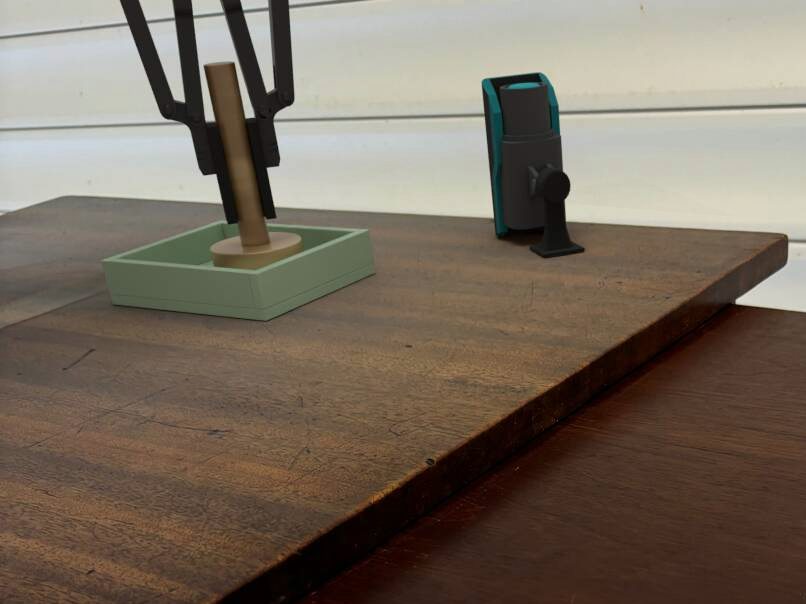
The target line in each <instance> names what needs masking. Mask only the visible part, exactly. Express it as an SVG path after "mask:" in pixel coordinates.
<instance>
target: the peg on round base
mask: <svg viewBox="0 0 806 604" xmlns="http://www.w3.org/2000/svg"><path fill="white" fill-rule="evenodd" d="M202 66H203V71H204V75H205V80H206V84H207V89H208V95H209V99H210V103H211V108H212V113H213V117H214V122H215V123H216V125H217V127H218V132H219V137H220V142H221V146H222V151H223V156H224V160H225V165H226V170H227V174H228V179H229V184H230V188H231V193H232V198H233V202H234V207H235V212H236V216H237V221H238V223H237V226H238V231H239V235H240V236H237V237H232V238H229V239H225V240H222V241H220V242H217V243H215V244H214V245H212V246H211V248H210V252H211V256H212V261H213V265H214V267H221V268H233V269H245V270H258V269H260V268H263V267H266V266H268V265H271V264H273V263H276V262H278V261H281V260H284V259H286V258H289V257H291V256H294V255H296V254H299V253H301V252H304V249H303V244H302V238H301V237H300V236H299V235H297V234H293V233H287V232H268V227H267V219H266V217H265V213H264V208H263V203H262V198H261V193H260V188H259V183H258V178H257V173H256V168H255V163H254V158H253V153H252V148H251V143H250V138H249V133H248V128H247V123H246V118H247V117H246V112H245V107H244V102H243V98H242V97H243V96H242V92H241V87H240V82H239V77H238V73H237V67H236V62H235V61H232V60H231V61H217V62H215V61H214V62H209V63H205V64H203V65H202Z"/></svg>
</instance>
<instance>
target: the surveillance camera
mask: <svg viewBox="0 0 806 604" xmlns="http://www.w3.org/2000/svg"><path fill="white" fill-rule="evenodd" d="M481 92H482V103H483V104H482V105H483V114H484V115H483V116H484V124H485V136H486V146H487V158H488V169H489V180H490V189H491V190H490V191H491V203H492V212H493V222H494V232H495V233H494V235H495V236H497V237H508V236H509V237H510V236H514V235H515V234H516V235H520V233H522V234H528V233H536V232H540V231H541V232H542V231H543V235H542V241H541V243H539V244H534V245H529V246H528V249H529V250H530V251H531V252H533V253H535V254H537V255H539V256H540V257H541V258H544V259H546V258H551V257H558V256H563V255H571V254H577V253H584V252H585V250H586V249H585V247H583V246H581V245H579V244H578V243H576V242H574V241H572V240H571V237H570V234H569V231H568V227H567V213H566V212H567V211H566V200H567V198H568V196H570V192H571V188H572V187H571V180H570V178H569V175H568V174H567V173H565V171H564V162H563V161H564V160H563V143H562V142H563V141H562V135H561V123H560V106H559V102H558V98H557V95H556V92H555V89H554V86H553V84H552V83H551V82H550V79H549V78H548V77H547V76H546V75H545V74H544V73H543V72H540V71H537V72H527V73H520V74H511V75H502V76H492V77H486V78H483V79H482V80H481Z"/></svg>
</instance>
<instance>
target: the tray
mask: <svg viewBox="0 0 806 604" xmlns="http://www.w3.org/2000/svg"><path fill="white" fill-rule="evenodd" d="M267 227H268V232H287V233H293V234H297V235H299V236H300V237H301V238H302V244H303V249H304V252H301V253H299V254H296V255H294V256H291V257H289V258H286V259H284V260H281V261H278V262H276V263H273V264H271V265H268V266H266V267H263V268H260V269H258V270H245V269H233V268H221V267H214V265H213V261H212V256H211V252H210V248H211V246H212V245H214V244H215V243H217V242H220V241H222V240H225V239H229V238H232V237H237V236H240V235H239V231H238V226H237V224H230V225H228V224H227V221H226V220H223V219H221V220H217V221H215V222H211V223H208V224H205V225H203V226H200V227H197V228H193V229H191V230H187V231H185V232H181V233H179V234H176V235H173V236H170V237H167V238H164V239H161V240H158V241H154V242H152V243H149V244H146V245H143V246H140V247H136V248H134V249H130V250H128V251H125V252H122V253H119V254H116V255H113V256H109V257H107V258H104V259H101V260H100V263H101V266H102V269H103V274H104V277H105V281H106V285H107V288H108V292H109V294H110V299H111V302H112V303H111V304H112V305H115V306H123V307H124V306H125V307H133V308H143V309H152V310H161V311H171V312H179V313H187V314H188V313H189V314H199V315H209V316H217V317H226V318H235V319H245V320H252V321H253V320H254V321H263V322H268V321H269V320H272V319H274V318H276V317H279V316H281V315H283V314H285V313H288V312H290V311H292V310H294V309H296V308H299V307H301V306H303V305H305V304H308V303H311V302H312V301H315V300H317V299H320V298H322V297H324V296H327V295H329V294H331V293H334V292H335V291H338V290H341V289H342V288H345V287H347V286H350V285H351V284H354V283H356V282H359V281H360V280H362V279H365V278H367V277H370V276H372V275H374V274H376V266H375V260H374V252H373V247H372V239H371V232H370V229H365V228H361V229H360V228H349V227H348V228H347V227H331V226H316V225H301V224H287V223H285V224H283V223H269V222H268V223H267Z"/></svg>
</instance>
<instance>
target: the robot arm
mask: <svg viewBox="0 0 806 604" xmlns="http://www.w3.org/2000/svg"><path fill="white" fill-rule="evenodd" d="M119 2H120V6H121V8H122V11H123V14H124V17H125V19H126V22H127V25H128V27H129V30H130V34H131V36H132V39H133V42H134V45H135V47H136V50H137V52H138V56H139V58H140V61H141V63H142V66H143V69H144V73H145V75H146V77H147V81H148V83H149V86H150V89H151V91H152V94H153V97H154V99H155V103H156V105H157V108H158V111H159V113H160V115H161V117H162V118H164V119H165V120H168V121H174V122H177V123H181V124H184V125H185V126H186V127H187V128H188V129H189V132H190V135H191V140H192V145H193V148H194V153H195V154H194V155H195V159H196V163H197V167H198V169H199V171H200V172H201V174H202V176H204V177H205V176H213V175H216V180H217V181H216V182H217V184H218V185H217V186H218V189H219V190H218V191H219V195H220V199H221V203H222V209H223V212H224V217H225V221H227V224H228V225H230V224H237V223H238V221H237V216H236V212H235V207H234V202H233V198H232V193H231V188H230V184H229V179H228V174H227V170H226V165H225V160H224V156H223V151H222V146H221V142H220V137H219V132H218V127H217V125H216V123H215V121H210V122H207V120H206V114H205V105H204V98H203V97H204V96H203V89H202V79H201V71H200V63H199V54H198V44H197V36H196V29H195V28H196V27H195V19H194V9H193V8H194V7H193V0H171V2H172V3H171V4H172V9H173V16H174V18H173V19H174V25H175V32H176V33H175V34H176V40H177V49H178V56H179V65H180V73H181V82H182V89H183V96H184V101H181V100H177V99H174V95H173V93H172V89H171V87H170V84H169V82H168V78H167V76H166V72H165V70H164V66H163V64H162V61H161V59H160V55H159V53H158V50H157V47H156V44H155V41H154V38H153V36H152V33H151V30H150V28H149V24H148V22H147V18H146V16H145V13H144V11H143V7H142V4H141V1H140V0H119ZM219 3H220V6H221V8H222V11H223V14H224V18H225V21H226V25H227V28H228V31H229V35H230V39H231V41H232V45H233V48H234V51H235V56H236V58H237V61H238V64H239V68H240V71H241V75H242V78H243V81H244V86H245V88H246V92H247V94H248V98H249V101H250V105H251V109H252V112H253V116H254V117H248V118H247V117H246V123H247V128H248V133H249V138H250V143H251V148H252V153H253V158H254V163H255V168H256V173H257V178H258V183H259V188H260V193H261V198H262V203H263V208H264V213H265V217H266V221H267V220H275V219H277V217H278V216H277V212H276V208H275V202H274V198H273V193H272V187H271V183H270V182H271V181H270V176H269V172H268V169H269V168H277V167H280V163H281V154H280V149H279V144H278V138H277V133H276V128H275V120H274V119H275V117H276V115H277V113H279V112H281V111H282V110H283V109H286V108H287V107H291V106H292V105H294V103H295V97H296V96H295V95H296V94H295V81H294V63H293V49H292V47H293V46H292V32H291V16H290V14H291V13H290V0H267V4H268V5H267V6H268V7H267V8H268V18H269V19H268V20H269V30H270V31H269V33H270V48H271V62H272V63H271V64H272V75H273V89H271V90H269V91H267V89H266V85H265V81H264V78H263V75H262V71H261V68H260V64H259V61H258V57H257V54H256V51H255V48H254V44H253V40H252V37H251V33H250V30H249V26H248V23H247V20H246V15H245V12H244V9H243V4H242V1H241V0H219Z"/></svg>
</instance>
